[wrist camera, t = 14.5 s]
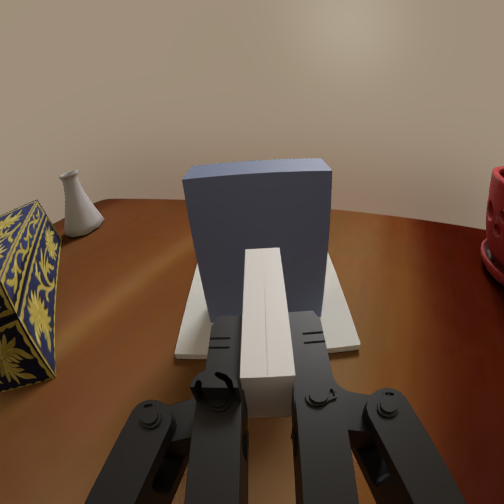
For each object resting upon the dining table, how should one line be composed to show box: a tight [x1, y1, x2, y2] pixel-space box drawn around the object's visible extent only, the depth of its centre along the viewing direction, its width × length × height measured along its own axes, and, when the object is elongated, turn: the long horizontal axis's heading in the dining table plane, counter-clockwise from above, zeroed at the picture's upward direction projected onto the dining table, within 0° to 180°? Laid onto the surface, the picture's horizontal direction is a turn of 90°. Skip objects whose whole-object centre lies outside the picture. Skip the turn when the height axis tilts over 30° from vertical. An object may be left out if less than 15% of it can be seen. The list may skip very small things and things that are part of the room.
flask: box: [59, 170, 104, 238], centre depth 41 cm, size 7×7×10 cm
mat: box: [175, 254, 360, 359], centre depth 29 cm, size 21×14×1 cm, turn 0°
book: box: [182, 158, 332, 323], centre depth 21 cm, size 3×9×12 cm, turn 90°
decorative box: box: [0, 200, 62, 393], centre depth 25 cm, size 11×30×9 cm, turn 30°
